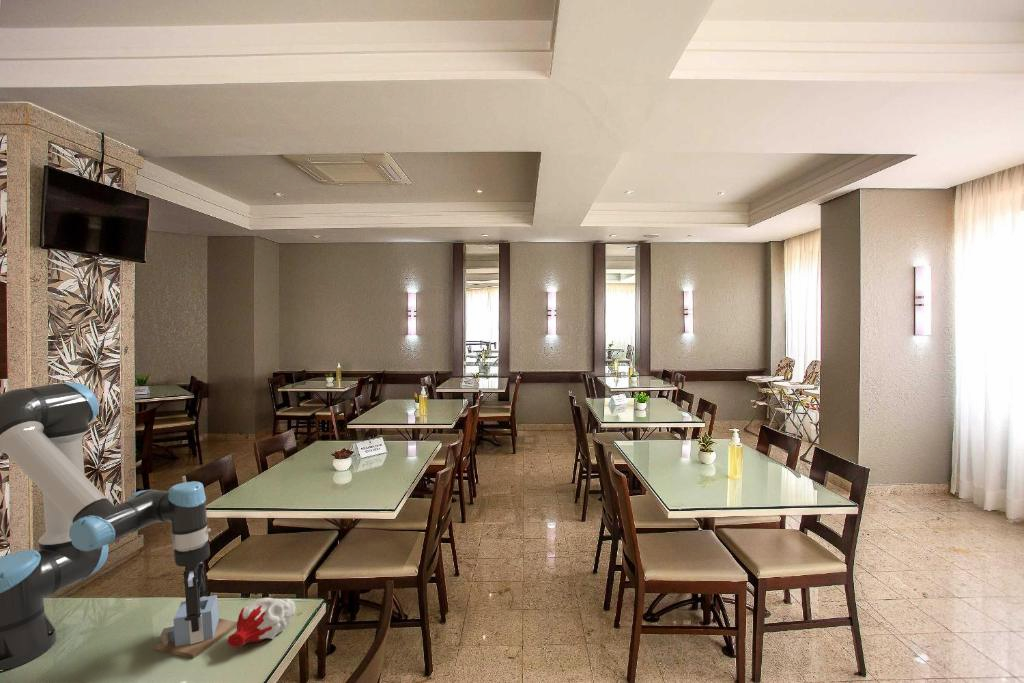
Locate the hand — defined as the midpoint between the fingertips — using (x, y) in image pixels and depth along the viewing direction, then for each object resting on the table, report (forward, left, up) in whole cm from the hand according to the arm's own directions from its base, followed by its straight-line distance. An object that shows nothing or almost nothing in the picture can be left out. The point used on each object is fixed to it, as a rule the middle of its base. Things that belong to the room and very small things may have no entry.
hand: (199, 631), depth 129 cm
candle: (+16, +4, -1) cm, 16 cm away
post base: (0, 0, -1) cm, 1 cm away
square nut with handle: (-2, -1, 0) cm, 2 cm away
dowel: (-4, -6, -1) cm, 7 cm away
